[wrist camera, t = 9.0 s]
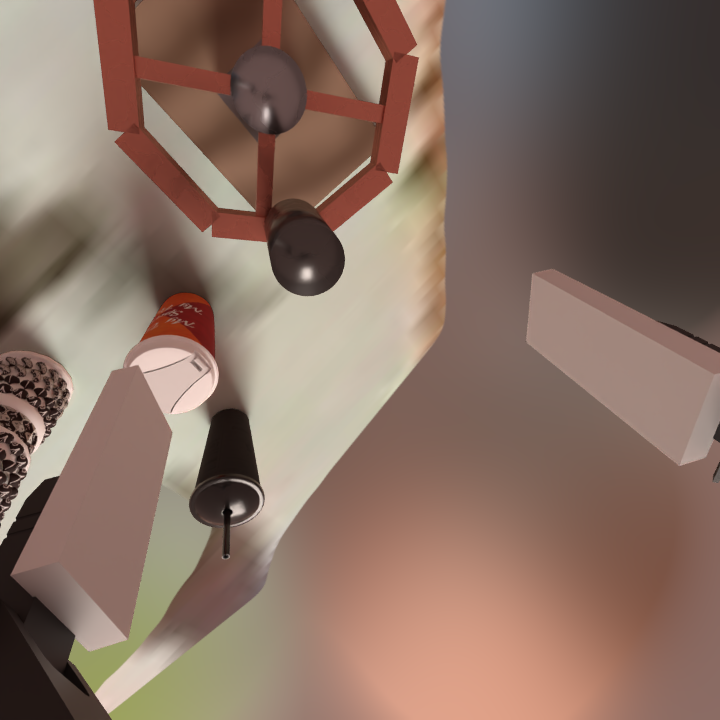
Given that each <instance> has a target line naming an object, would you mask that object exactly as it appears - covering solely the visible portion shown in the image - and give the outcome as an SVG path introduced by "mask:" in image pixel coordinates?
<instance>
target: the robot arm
mask: <svg viewBox="0 0 720 720" xmlns="http://www.w3.org/2000/svg"><path fill="white" fill-rule="evenodd" d="M526 342H527V343H528V344H529V345H530V346H532V347H533V348H534V349H535V350H536V351H538V352H539V353H540V354H541V355H543V356H544V357H545V358H546V359H548V360H549V361H550V362H551V363H553V364H554V365H555V366H556V367H558V368H559V369H560V370H561V371H562V372H564V373H565V374H566V375H567V376H569V377H570V378H571V379H572V380H574V381H575V382H576V383H577V384H579V385H580V386H581V387H582V388H584V389H585V390H586V391H587V392H588V393H590V394H591V395H592V396H593V397H595V398H596V399H597V400H598V401H600V402H601V403H602V404H603V405H604V406H606V407H607V408H608V409H609V410H611V411H612V412H613V413H614V414H616V415H617V416H618V417H619V418H621V419H622V420H623V421H624V422H625V423H627V424H628V425H629V426H631V427H632V428H633V429H634V430H635V431H637V432H638V433H639V434H640V435H642V436H643V437H644V438H645V439H647V440H648V441H649V442H650V443H651V444H653V445H654V446H655V447H656V448H658V449H659V450H660V451H661V452H663V453H664V454H665V455H666V456H667V457H669V458H670V459H671V460H672V461H674V462H675V463H676V464H678V465H679V466H681V465H684V464H687V463H690V462H693V461H696V460H699V459H703V458H706V456H707V453H708V451H709V448H710V446H711V444H712V442H713V440H714V439H715V440H717V441H718V442H720V348H719V347H717V346H715V345H713V344H708V342H707V341H705V340H703V339H701V338H699V337H694V336H693V334H691V333H689V332H686V331H685V330H683V329H680V328H678V327H677V326H674V325H670V324H667V323H663V322H659V321H655V320H653V319H651V318H649V317H647V316H645V315H643V314H641V313H639V312H637V311H635V310H633V309H631V308H629V307H627V306H625V305H623V304H621V303H619V302H617V301H615V300H614V299H611V298H610V297H608V296H606V295H603V294H602V293H600V292H598V291H596V290H594V289H592V288H590V287H588V286H586V285H584V284H582V283H580V282H578V281H576V280H574V279H572V278H570V277H568V276H566V275H564V274H562V273H560V272H558V271H556V270H554V269H549V270H545V271H540V272H537V273H532V283H531V295H530V306H529V317H528V328H527V340H526ZM171 437H172V431H171V429H170V427H169V425H168V423H167V421H166V419H165V417H164V415H163V413H162V411H161V409H160V407H159V405H158V403H157V401H156V399H155V397H154V395H153V393H152V391H151V389H150V387H149V385H148V383H147V381H146V379H145V377H144V375H143V373H142V371H141V369H140V367H139V365H136V366H131V367H127V368H123V369H118V370H114V371H112V372H111V374H110V376H109V378H108V380H107V382H106V384H105V386H104V388H103V390H102V392H101V394H100V396H99V398H98V400H97V402H96V404H95V406H94V408H93V410H92V412H91V414H90V416H89V418H88V420H87V422H86V424H85V427H84V429H83V431H82V433H81V435H80V437H79V439H78V441H77V443H76V445H75V447H74V449H73V451H72V453H71V455H70V457H69V459H68V461H67V463H66V465H65V467H64V469H63V471H62V473H61V475H60V476H57V477H53V478H50V479H46V480H44V481H43V482H42V483H41V484H40V485H39V486H38V487H37V488H36V489H35V490H34V491H33V492H32V494H31V495H30V496H29V497H28V498H27V499H26V500H25V502H24V504H23V506H22V508H21V509H20V511H19V513H18V515H17V517H16V522H13V524H12V526H11V527H10V529H9V531H8V533H7V538H5V539H4V540H3V542H2V544H1V545H0V720H112V719H111V718H110V716H109V715H108V713H107V712H106V710H105V709H104V707H103V706H102V705H101V703H100V702H99V700H98V699H97V697H96V696H95V694H94V693H93V691H92V690H91V688H90V687H89V685H88V684H87V683H86V681H85V680H84V678H83V677H82V675H81V674H80V672H79V671H78V669H77V668H76V667H75V665H74V664H72V663H71V662H70V661H69V660H68V658H69V655H70V651H71V648H72V645H73V642H74V639H76V640H77V641H79V643H80V644H81V645H83V646H84V647H85V648H86V649H87V650H88V651H92V650H96V649H99V648H102V647H106V646H109V645H112V644H115V643H118V642H121V641H125V640H128V637H129V632H130V627H131V623H132V619H133V614H134V609H135V605H136V599H137V595H138V591H139V586H140V581H141V577H142V572H143V567H144V563H145V558H146V553H147V549H148V544H149V539H150V535H151V530H152V525H153V521H154V516H155V511H156V507H157V502H158V497H159V492H160V488H161V483H162V479H163V474H164V469H165V465H166V460H167V455H168V451H169V446H170V441H171ZM719 480H720V462H719V464H718V467H717V469H716V471H715V473H714V475H713V482H716V483H718V482H719Z"/></svg>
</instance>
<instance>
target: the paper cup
mask: <svg viewBox="0 0 720 720" xmlns="http://www.w3.org/2000/svg"><path fill="white" fill-rule="evenodd" d="M136 365H139V367H140V369H141V371H142V373H143V375H144V377H145V379H146V381H147V383H148V385H149V387H150V389H151V391H152V393H153V395H154V397H155V399H156V401H157V403H158V405H159V407H160V409H161V411H162V413H168V414H178V413H184V412H187V411H190V410H193V409H194V408H196V407H198V406H199V405H201V404H202V403H203V402H204V401H205V400H206V399H207V398H209V397H210V396H211V394H212V393H213V392H214V390H215V388H216V386H217V383H218V376H219V372H218V367H217V364H216V361H215V329H214V314H213V311H212V308H211V306H210V305H209V303H208V302H207V301H206V300H205V299H203V298H202V297H200V296H198V295H196V294H193V293H178V294H175V295H172V296H171V297H169V298H168V299H167V300H166V301H165V302H164V303H163V305H162V306H161V308H160V309H159V311H158V312H157V314H156V316H155V317H154V319H153V321H152V322H151V324H150V326H149V327H148V329H147V331H146V332H145V334H144V336H143V337H142V339H141V341H140V342H139V343H138V344H137V345H136V346H134V347H133V348H132V349H131V350H130V352H129V353H128V355H127V356H126V359H125V361H124V365H123V368H127V367H131V366H136Z"/></svg>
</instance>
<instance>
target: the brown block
mask: <svg viewBox="0 0 720 720" xmlns="http://www.w3.org/2000/svg"><path fill="white" fill-rule="evenodd" d="M135 14H136V27H137V39H138V52H139V57H144V58H149V59H154V60H159V61H164V62H169V63H174V64H179V65H184V66H189V67H194V68H199V69H204V70H209V71H214V72H219V73H224V74H229V75H231V74H232V71H233V68H234V65H235V63H236V62H237V60H238V59H239V57H240V56H241V55H242V54H243V53H245V52H246V51H247V50H249V49H251V48H253V47H256V46H261V44H262V16H263V0H143V1H142V2H141V3H140V4H139V5H138V6H137V7H136V8H135ZM280 50H282V51H284V52H285V53H287V54H288V55H289V56H290V57H291V58H292V59H293V60H294V61H295V62H296V63H297V65H298V66H299V68H300V70H301V72H302V74H303V76H304V79H305V83H306V88H307V90H309V91H314V92H319V93H324V94H329V95H334V96H339V97H344V98H349V99H355V100H358V99H357V98H356V96H355V95H354V93H353V92H352V90H351V89H350V87H349V85H348V84H347V82H346V81H345V79H344V78H343V76H342V75H341V73H340V71H339V70H338V68H337V67H336V65H335V64H334V62H333V61H332V59H331V57H330V56H329V54H328V53H327V51H326V50H325V48H324V46H323V45H322V43H321V42H320V40H319V39H318V37H317V36H316V34H315V32H314V31H313V29H312V28H311V26H310V25H309V23H308V22H307V20H306V18H305V17H304V15H303V14H302V12H301V11H300V9H299V8H298V6H297V4H296V3H295V1H294V0H282V19H281V38H280ZM141 86H142V87H143V88H144V89H145V90H146V91H147V92H148V94H149V95H150V96H151V97H152V98H153V99H154V100H155V101H156V102H157V103H158V104H159V106H160V107H161V108H162V109H163V110H164V111H165V112H166V113H167V114H168V115H169V116H170V118H171V119H172V120H173V121H174V122H175V123H176V124H177V125H178V126H179V127H180V128H181V130H182V131H183V132H184V133H185V134H186V135H187V136H188V137H189V138H190V139H191V140H192V142H193V143H194V144H195V145H196V146H197V147H198V148H199V149H200V150H201V151H202V152H203V154H204V155H205V156H206V157H207V158H208V159H209V160H210V161H211V162H212V163H213V164H214V166H215V167H216V168H217V169H218V170H219V171H220V172H221V173H222V174H223V175H224V176H225V178H226V179H227V180H228V181H229V182H230V183H231V184H232V185H233V186H234V187H235V188H236V190H237V191H238V192H239V193H240V194H241V195H242V196H243V197H244V198H245V199H246V200H247V201H248V203H249V204H250V205H251V206H252V207H253V208H254V209H255V210H256V187H257V158H258V132H259V131H257V130H255V129H253V128H252V127H250V126H249V125H248V124H247V123H246V122H245V121H244V120H243V119H242V118H241V116H240V115H239V113H238V112H237V110H236V108H235V105H234V103H233V100H232V96H230V95H225V94H220V93H214V92H209V91H203V90H198V89H193V88H187V87H182V86H177V85H171V84H166V83H160V82H155V81H150V80H144V79H141ZM375 128H376V127H375V126H374V124H373V123H372V122H370V121H365V120H359V119H354V118H349V117H343V116H338V115H332V114H327V113H322V112H316V111H311V110H306V109H305V111H304V113H303V115H302V117H301V119H300V121H299V122H298V123H297V124H296V125H295V126H294V127H293V128H292V129H290V130H289V131H287V132H284V133H282V134H276V135H275V153H274V172H273V191H272V207H273V206H274V205H275V204H277V203H278V202H280V201H282V200H285V199H291V198H295V199H301V200H304V201H306V202H308V203H309V204H311V205H312V206H313V207H314V206H316V205H317V204H318V203H319V202H320V201H321V200H322V199H323V198H324V197H326V196H327V195H328V194H329V193H330V192H331V191H332V190H333V189H334V188H336V187H337V186H338V185H339V184H340V183H341V182H342V181H343V180H344V179H345V178H347V177H348V176H349V175H350V174H351V173H352V172H353V171H354V170H355V169H357V168H358V167H359V166H360V165H361V164H362V163H363V162H364V161H365V160H366V159H368V158H369V157H370V156H371V154H372V148H373V141H374V135H375Z"/></svg>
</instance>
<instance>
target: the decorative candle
mask: <svg viewBox="0 0 720 720" xmlns="http://www.w3.org/2000/svg"><path fill="white" fill-rule="evenodd" d="M73 390H74V389H73V383H72V378H71V376H70V375H69V374H68V372H67V371H66V370H65V368H64V367H63V366H62V365H60V364H59V363H57V362H56V361H54V360H53V359H51V358H50V357H48V356H45V355H42V354H38V353H35V352H32V351H10V352H7V353H3V354H0V501H1V500H2V499H3V500H2V501H1V502H0V521H1V520H2V519H3V518H4V513H3V512H5V511H7V510H8V509H9V508H10V506H11V501H10V500H12V499H14V498H15V497H16V496H17V494H18V488H19V486H20V481H21V480H23V479H24V478H25V477H26V475H27V470H28V468H29V465H30V462H31V458H30V455H31V454H32V453H34V452H35V451H36V450H37V448H38V447H39V445H41V444H42V443H43V442H44V440H45V438H46V437H48V436H49V435H50V434H51V429H50V428H52V427H54V426H55V425H56V421H57V419H58V418H60V417H61V416H62V414H63V411H64V409H65V408H66V407H67V405H68V402H69V401H70V398H71V396H72V393H73ZM0 527H1V523H0Z"/></svg>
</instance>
